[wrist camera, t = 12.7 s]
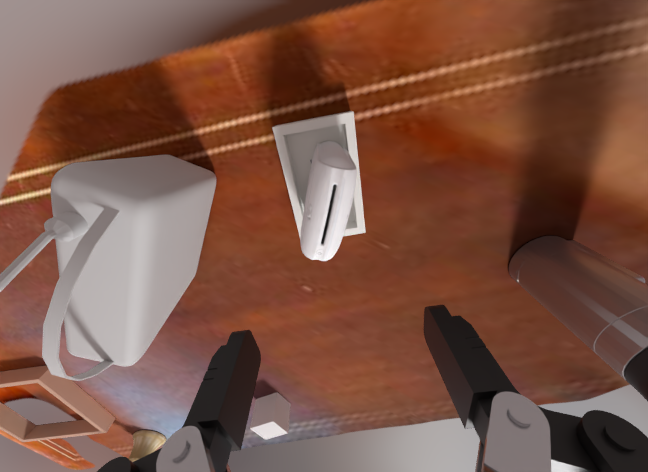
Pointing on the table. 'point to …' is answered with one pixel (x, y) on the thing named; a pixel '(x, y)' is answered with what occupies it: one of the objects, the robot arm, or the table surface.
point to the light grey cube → (271, 416)
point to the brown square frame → (65, 392)
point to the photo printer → (327, 200)
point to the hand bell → (145, 443)
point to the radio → (119, 254)
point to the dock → (298, 153)
